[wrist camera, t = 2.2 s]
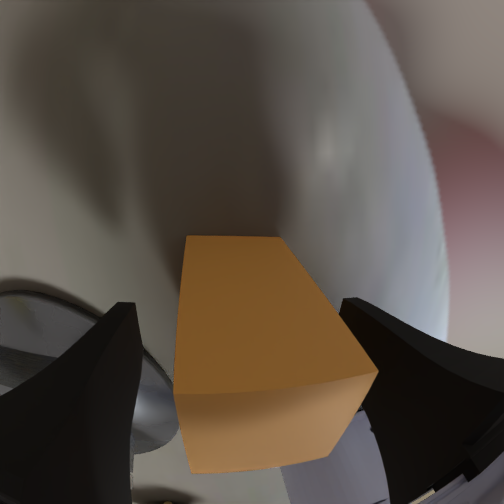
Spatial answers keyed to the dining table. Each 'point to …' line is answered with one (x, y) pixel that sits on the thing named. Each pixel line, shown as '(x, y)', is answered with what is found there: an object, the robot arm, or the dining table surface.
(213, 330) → the orange rectangular block
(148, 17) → the dining table surface
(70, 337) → the grey piece
